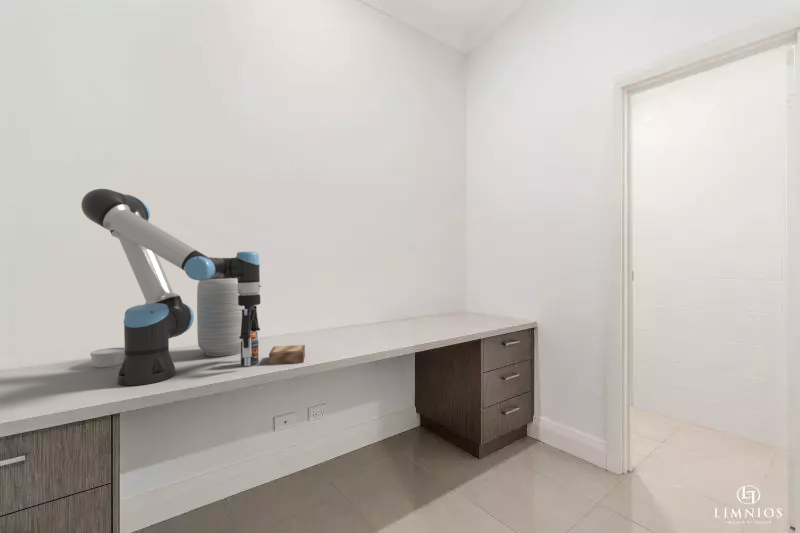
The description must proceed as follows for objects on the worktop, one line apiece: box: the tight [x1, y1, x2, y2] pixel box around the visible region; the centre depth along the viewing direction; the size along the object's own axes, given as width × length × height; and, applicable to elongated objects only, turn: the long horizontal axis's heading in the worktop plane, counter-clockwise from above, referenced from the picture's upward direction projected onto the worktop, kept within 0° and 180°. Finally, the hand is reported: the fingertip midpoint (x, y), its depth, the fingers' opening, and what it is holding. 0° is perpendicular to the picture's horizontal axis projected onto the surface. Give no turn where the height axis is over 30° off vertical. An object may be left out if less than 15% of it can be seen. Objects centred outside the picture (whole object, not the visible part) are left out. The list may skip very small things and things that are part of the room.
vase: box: [196, 278, 245, 357], centre depth 153 cm, size 20×20×34 cm
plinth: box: [268, 344, 306, 365], centre depth 140 cm, size 12×12×4 cm
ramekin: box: [89, 347, 125, 369], centre depth 135 cm, size 11×11×5 cm
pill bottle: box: [240, 333, 259, 367], centre depth 133 cm, size 6×6×11 cm
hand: (250, 352), depth 133 cm, fingers open, 13 cm apart
